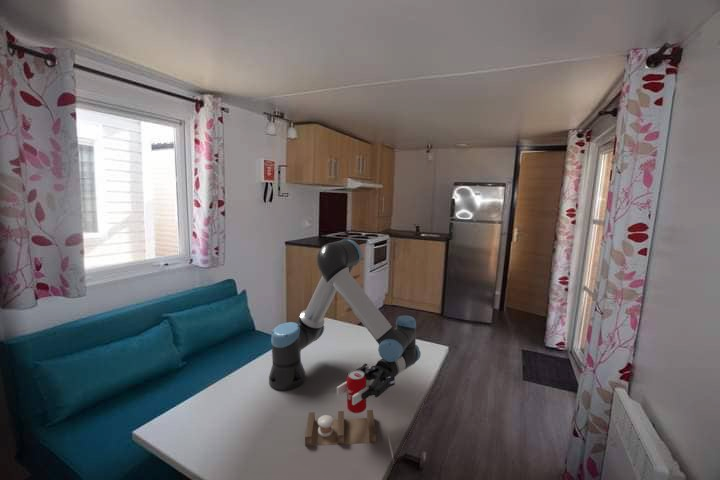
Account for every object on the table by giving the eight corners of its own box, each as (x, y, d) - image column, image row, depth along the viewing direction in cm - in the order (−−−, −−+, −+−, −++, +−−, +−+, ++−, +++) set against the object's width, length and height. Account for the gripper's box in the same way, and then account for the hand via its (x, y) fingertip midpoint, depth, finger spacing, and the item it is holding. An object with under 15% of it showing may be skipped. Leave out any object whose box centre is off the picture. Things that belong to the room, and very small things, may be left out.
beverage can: (355, 399, 106) (355, 366, 104) (370, 407, 102) (369, 373, 100) (343, 409, 101) (342, 375, 99) (357, 417, 97) (357, 382, 95)
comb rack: (305, 448, 96) (304, 436, 96) (309, 423, 107) (308, 412, 106) (376, 445, 97) (376, 433, 97) (372, 420, 108) (372, 409, 108)
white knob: (317, 437, 99) (317, 426, 99) (318, 426, 104) (318, 415, 104) (333, 437, 99) (332, 425, 99) (333, 425, 104) (333, 414, 104)
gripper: (412, 386, 107) (368, 421, 91) (370, 366, 120) (325, 394, 103) (412, 366, 106) (368, 397, 90) (370, 348, 119) (324, 373, 102)
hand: (345, 395), depth 97 cm, fingers closed on beverage can, 6 cm apart
